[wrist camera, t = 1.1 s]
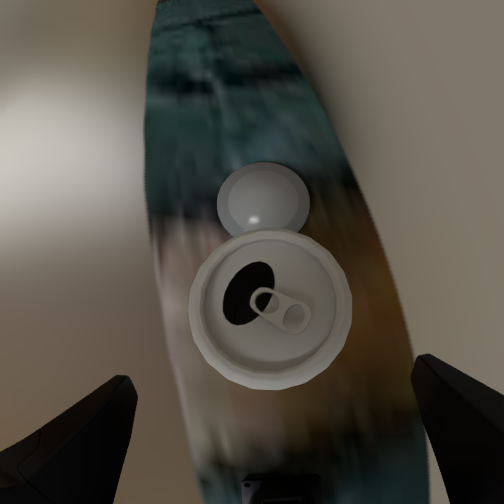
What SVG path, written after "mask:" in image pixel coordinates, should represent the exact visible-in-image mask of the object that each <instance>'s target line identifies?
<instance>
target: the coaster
mask: <svg viewBox="0 0 504 504" xmlns="http://www.w3.org/2000/svg"><path fill="white" fill-rule="evenodd" d="M309 209H310V198H309V193H308V190H307V188H306V186H305V184H304V182H303V181H302V180H301V178H300V177H299V176H298V175H297V174H296V173H294V172H293V171H292V170H290V169H289V168H287V167H284V166H282V165H279V164H275V163H269V162H259V163H253V164H249V165H246V166H244V167H242V168H240V169H238V170H236V171H235V172H233V173H232V174H231V175H230V176H229V177H228V178H227V179H226V180H225V182H224V183H223V185H222V187H221V189H220V191H219V194H218V198H217V211H218V215H219V218H220V220H221V223H222V225H223V226H224V228H225V229H226V231H227V232H228V233H229V234H230V235H231V236H232V237H235V236H236V235H238V234H242V233H245V232H249V231H253V230H257V229H260V228H270V229H288V230H290V231H293V232H296V233H298V232H299V231H300V230H301V229H302V227H303V226H304V224H305V222H306V220H307V217H308V213H309Z"/></svg>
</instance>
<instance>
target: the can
mask: <svg viewBox="0 0 504 504" xmlns="http://www.w3.org/2000/svg"><path fill="white" fill-rule="evenodd" d="M188 317H189V322H190V326H191V331H192V335H193V339H194V341H195V343H196V345H197V346H198V348H199V350H200V351H201V353H202V354H203V356H204V358H205V359H206V361H207V362H208V363H209V364H210V365H211V366H212V367H214V368H215V369H216V370H217V371H218V372H219V373H221V374H222V375H223V376H224V377H225V378H227V379H229V380H231V381H233V382H236V383H238V384H241V385H243V386H246V387H249V388H251V389H264V390H282V389H285V388H289V387H293V386H296V385H300V384H303V383H306V382H307V381H309V380H310V379H312V378H313V377H315V376H316V375H318V374H319V373H321V372H322V371H324V370H325V369H326V368H327V367H328V366H329V365H330V364H331V362H332V361H333V360H334V359H335V357H336V356H337V355H338V353H339V352H340V351H341V349H342V348H343V346H344V344H345V341H346V338H347V335H348V332H349V329H350V326H351V323H352V295H351V292H350V288H349V285H348V282H347V279H346V276H345V273H344V271H343V270H342V268H341V267H340V266H339V264H338V263H337V261H336V260H335V259H334V257H333V256H332V254H331V253H330V252H329V251H328V250H326V249H325V248H324V247H322V246H321V245H320V244H318V243H317V242H316V241H314V240H313V239H311V238H310V237H308V236H305V235H302V234H299V233H296V232H293V231H290V230H288V229H270V228H260V229H257V230H253V231H249V232H245V233H242V234H238V235H236V236H235V237H233V238H231V239H230V240H228V241H227V242H225V243H223V244H222V245H220V246H219V247H217V248H216V249H215V250H214V251H213V252H212V254H211V255H210V256H209V257H208V258H207V259H206V261H205V262H204V263H203V264H202V265H201V266H200V268H199V271H198V273H197V275H196V278H195V280H194V282H193V285H192V287H191V289H190V298H189V309H188Z"/></svg>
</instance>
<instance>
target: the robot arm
mask: <svg viewBox="0 0 504 504" xmlns="http://www.w3.org/2000/svg"><path fill="white" fill-rule="evenodd" d="M411 382H412V386H413V389H414V393H415V396H416V400H417V403H418V407H419V411H420V415H421V418H422V421H423V424H424V427H425V429H426V432H427V435H428V437H429V440H430V443H431V445H432V448H433V451H434V454H435V457H436V460H437V463H438V466H439V469H440V472H441V475H442V478H443V481H444V485H445V488H446V491H447V495H448V498H449V501H450V504H504V395H503V394H501V393H499V392H497V391H495V390H494V389H491V388H490V387H488V386H486V385H485V384H483V383H481V382H479V381H477V380H475V379H474V378H472V377H470V376H468V375H467V374H465V373H463V372H461V371H460V370H458V369H456V368H454V367H452V366H451V365H449V364H447V363H445V362H444V361H441V360H440V359H438V358H436V357H435V356H433V355H431V354H423V355H419V356H418V357H417V358H416V360H415V364H414V367H413V370H412V373H411ZM137 400H138V396H137V392H136V390H135V388H134V385H133V383H132V381H131V379H130V377H128V376H127V375H116V376H114V377H113V378H112V379H110V380H109V381H107V382H106V383H104V384H103V385H101V386H100V387H99V388H97V389H96V390H94V391H93V392H92V393H90V394H89V395H87V396H86V397H84V398H83V399H82V400H80V401H79V402H77V403H76V404H75V405H73V406H72V407H70V408H69V409H67V410H66V411H64V412H63V413H62V414H60V415H59V416H57V417H56V418H54V419H53V420H51V421H50V422H48V423H47V424H45V425H44V426H43V427H41V428H40V429H38V430H37V431H35V432H34V433H32V434H30V435H29V436H28V437H26V438H24V439H23V440H21V441H19V442H17V443H16V444H14V445H12V446H10V447H9V448H6V449H4V450H3V451H1V452H0V504H113V502H114V497H115V494H116V490H117V486H118V482H119V478H120V474H121V471H122V467H123V463H124V460H125V456H126V453H127V449H128V446H129V442H130V438H131V434H132V428H133V422H134V417H135V411H136V405H137ZM313 479H317V480H316V481H312V480H313ZM245 483H249V484H250V485H245ZM241 488H242V499H243V504H320V495H321V479H320V476H319V475H317V474H313V475H304V476H296V475H289V476H274V477H265V478H257V479H244V480H243V481H242V483H241Z"/></svg>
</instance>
